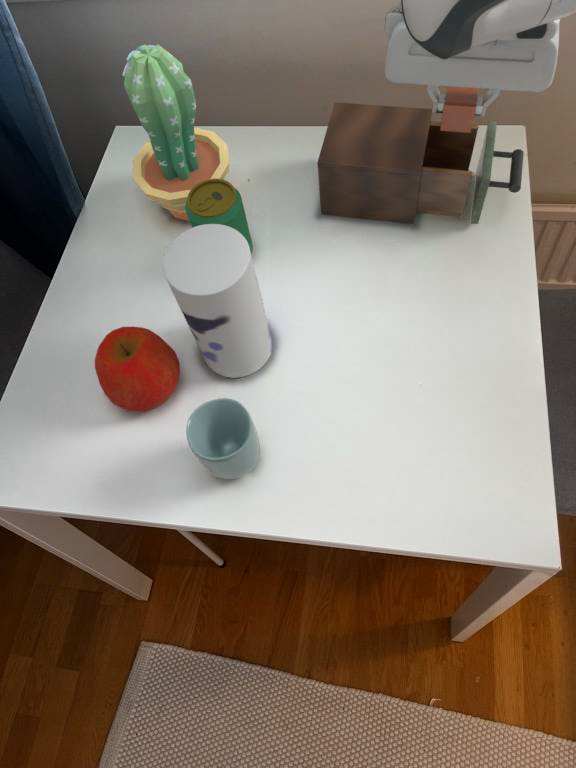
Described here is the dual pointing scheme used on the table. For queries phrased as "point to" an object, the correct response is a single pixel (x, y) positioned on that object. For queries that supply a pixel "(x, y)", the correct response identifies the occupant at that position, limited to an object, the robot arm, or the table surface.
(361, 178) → the cabinet
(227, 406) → the cup
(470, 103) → the block
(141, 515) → the table surface
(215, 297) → the container
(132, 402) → the apple
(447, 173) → the drawer
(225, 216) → the beverage can
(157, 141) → the potted cactus
